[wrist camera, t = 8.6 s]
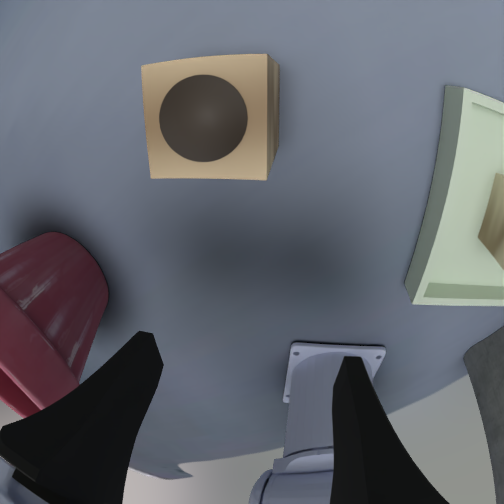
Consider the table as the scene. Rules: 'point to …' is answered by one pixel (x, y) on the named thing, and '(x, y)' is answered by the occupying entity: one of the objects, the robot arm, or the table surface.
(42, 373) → the plant pot
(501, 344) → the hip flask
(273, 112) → the oak block
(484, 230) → the birch block
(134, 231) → the table surface
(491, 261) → the tray
